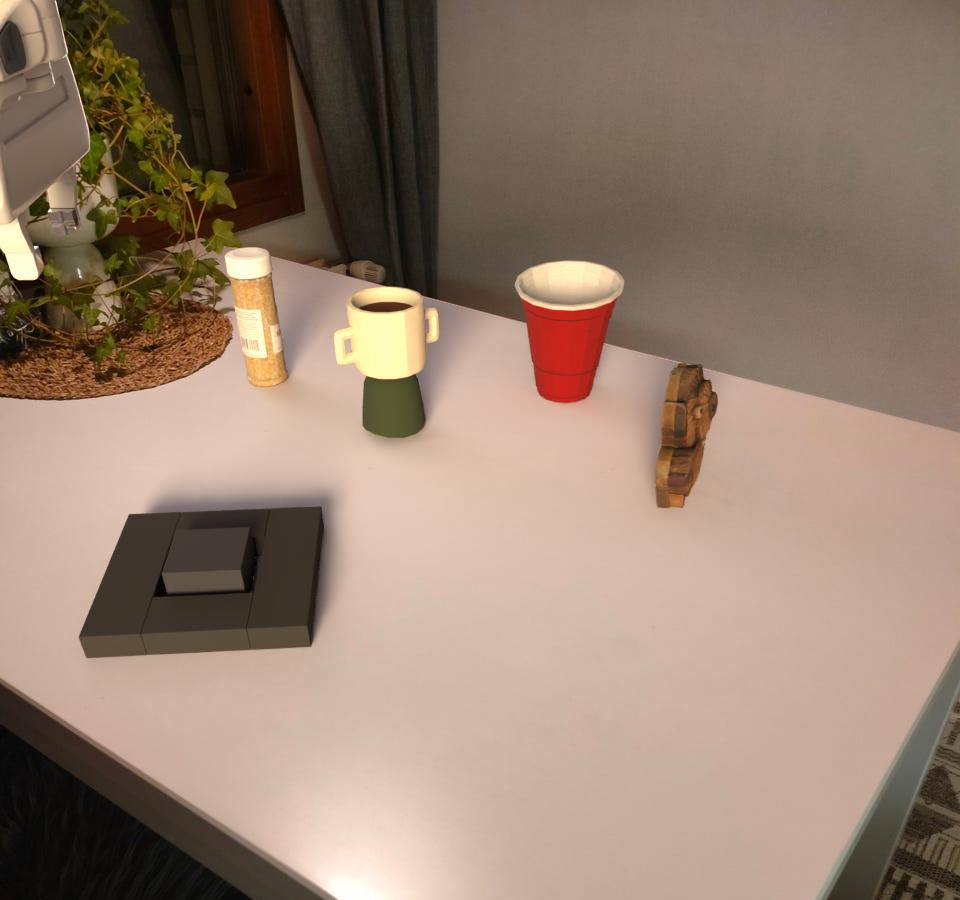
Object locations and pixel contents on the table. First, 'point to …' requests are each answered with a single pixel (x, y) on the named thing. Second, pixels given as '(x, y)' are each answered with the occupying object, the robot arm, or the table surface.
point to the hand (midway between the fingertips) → (50, 254)
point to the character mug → (388, 356)
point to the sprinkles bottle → (257, 315)
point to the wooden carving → (683, 433)
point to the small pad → (210, 562)
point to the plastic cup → (567, 323)
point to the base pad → (207, 618)
